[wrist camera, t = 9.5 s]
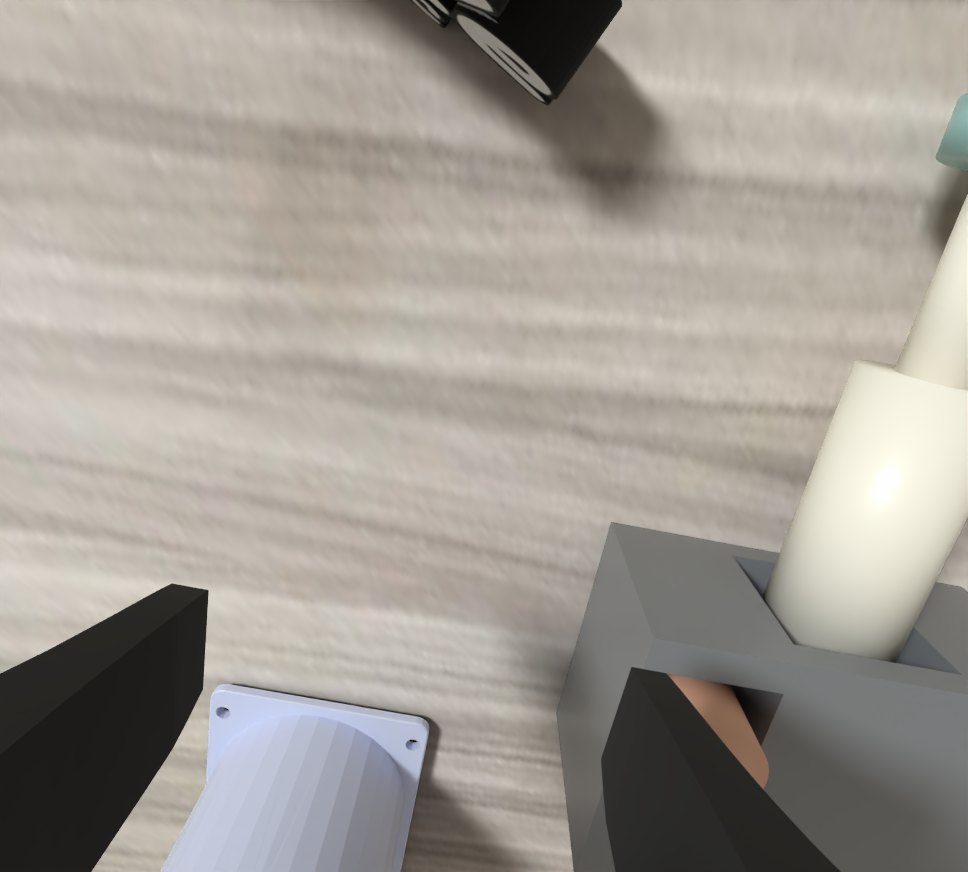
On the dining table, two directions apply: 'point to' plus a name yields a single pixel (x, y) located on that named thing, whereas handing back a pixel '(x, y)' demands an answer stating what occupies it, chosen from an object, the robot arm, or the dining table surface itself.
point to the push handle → (887, 475)
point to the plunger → (726, 722)
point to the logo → (530, 35)
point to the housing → (779, 703)
